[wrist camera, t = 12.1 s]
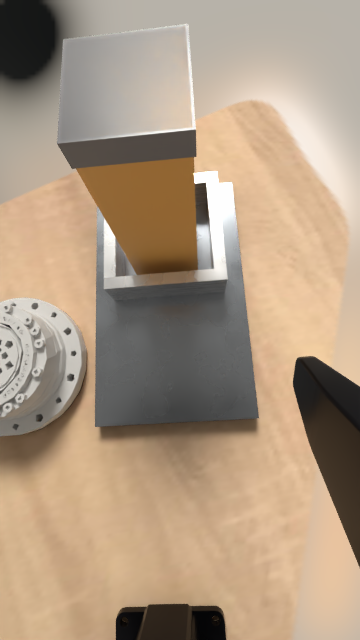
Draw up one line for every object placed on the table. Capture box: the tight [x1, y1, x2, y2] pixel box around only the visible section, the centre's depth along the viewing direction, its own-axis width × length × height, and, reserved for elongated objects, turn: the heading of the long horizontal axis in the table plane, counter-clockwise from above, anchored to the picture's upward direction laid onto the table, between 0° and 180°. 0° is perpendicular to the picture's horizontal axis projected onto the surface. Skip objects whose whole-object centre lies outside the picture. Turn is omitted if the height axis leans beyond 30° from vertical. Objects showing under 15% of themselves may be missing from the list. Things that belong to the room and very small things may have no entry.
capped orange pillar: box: [57, 24, 198, 275], centre depth 17 cm, size 5×5×12 cm
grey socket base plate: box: [95, 171, 259, 427], centre depth 21 cm, size 18×11×4 cm, turn 3°
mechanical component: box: [0, 298, 87, 436], centre depth 21 cm, size 10×4×10 cm
